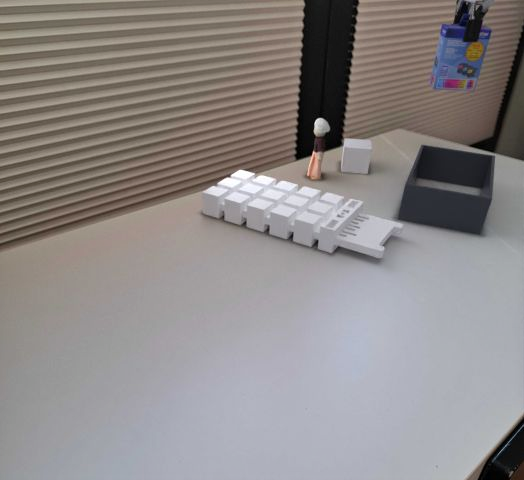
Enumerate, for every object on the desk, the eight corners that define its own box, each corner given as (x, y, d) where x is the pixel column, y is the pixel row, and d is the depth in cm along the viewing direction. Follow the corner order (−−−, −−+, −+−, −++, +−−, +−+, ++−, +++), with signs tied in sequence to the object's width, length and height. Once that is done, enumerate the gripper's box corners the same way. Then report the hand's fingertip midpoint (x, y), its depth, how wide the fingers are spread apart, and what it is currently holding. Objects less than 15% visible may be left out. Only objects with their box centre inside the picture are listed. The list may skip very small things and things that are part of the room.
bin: (413, 178, 114) (421, 144, 109) (483, 190, 110) (495, 155, 106) (396, 221, 98) (405, 184, 93) (478, 237, 94) (492, 199, 89)
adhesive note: (366, 166, 119) (371, 140, 115) (367, 176, 114) (372, 149, 110) (340, 164, 119) (344, 138, 115) (340, 174, 115) (344, 147, 111)
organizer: (240, 169, 102) (407, 213, 90) (240, 192, 105) (402, 237, 93) (202, 192, 94) (382, 244, 81) (203, 216, 97) (376, 270, 84)
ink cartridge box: (432, 90, 115) (449, 13, 105) (427, 84, 119) (443, 10, 110) (476, 91, 115) (497, 15, 105) (469, 85, 119) (488, 12, 110)
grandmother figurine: (303, 172, 115) (309, 113, 106) (320, 172, 115) (326, 113, 107) (310, 186, 109) (315, 124, 101) (327, 186, 109) (334, 124, 101)
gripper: (530, -67, 93) (498, 46, 104) (488, -70, 106) (463, 32, 117) (491, -68, 92) (463, 46, 104) (453, -71, 105) (432, 32, 117)
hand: (463, 38), depth 110 cm, fingers closed on ink cartridge box, 5 cm apart
